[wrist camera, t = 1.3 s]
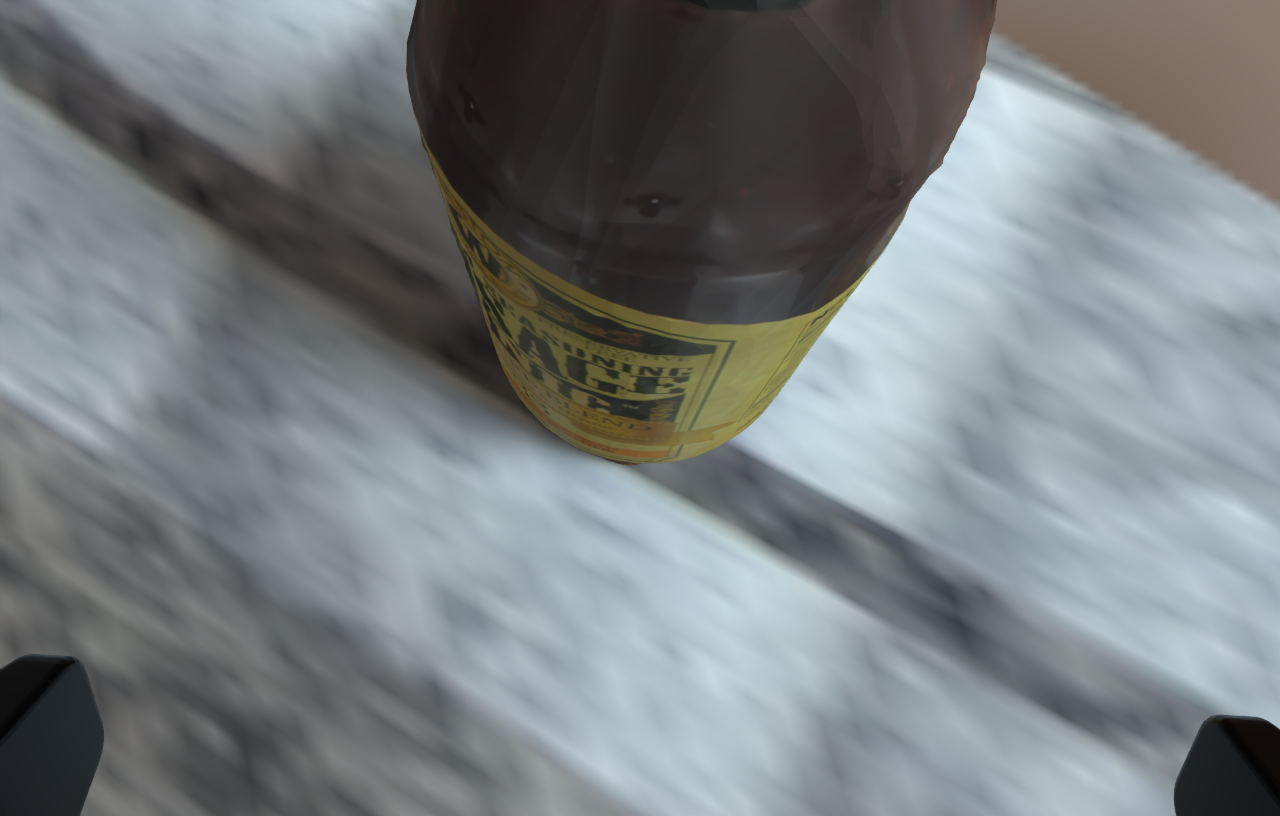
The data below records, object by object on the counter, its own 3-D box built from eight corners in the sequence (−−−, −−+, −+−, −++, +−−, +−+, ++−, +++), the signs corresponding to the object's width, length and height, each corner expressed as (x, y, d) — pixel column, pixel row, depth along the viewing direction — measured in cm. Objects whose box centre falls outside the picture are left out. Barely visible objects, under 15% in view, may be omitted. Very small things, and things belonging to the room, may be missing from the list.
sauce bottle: (445, 314, 23) (-409, -1358, 4) (668, 154, 24) (839, -1806, 5) (629, 551, 22) (658, -212, 3) (856, 373, 23) (2006, -1086, 4)
